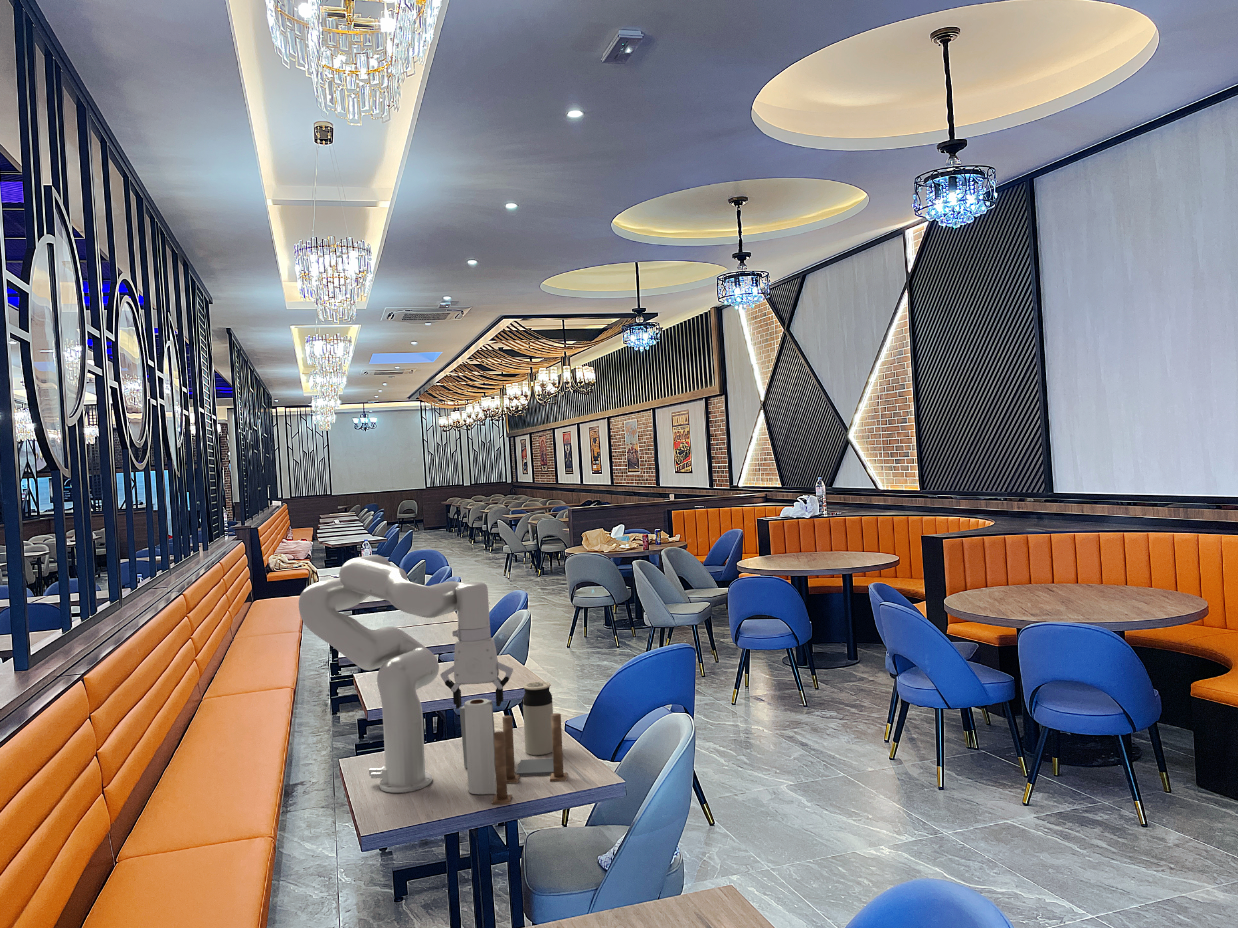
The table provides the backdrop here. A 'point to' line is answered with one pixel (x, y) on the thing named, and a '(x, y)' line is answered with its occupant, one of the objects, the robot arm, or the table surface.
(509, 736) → the post
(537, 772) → the mat
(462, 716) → the skincare box
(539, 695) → the travel mug
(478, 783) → the paper towel roll
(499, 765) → the post
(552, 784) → the table surface
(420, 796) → the table surface
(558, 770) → the post
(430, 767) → the table surface
